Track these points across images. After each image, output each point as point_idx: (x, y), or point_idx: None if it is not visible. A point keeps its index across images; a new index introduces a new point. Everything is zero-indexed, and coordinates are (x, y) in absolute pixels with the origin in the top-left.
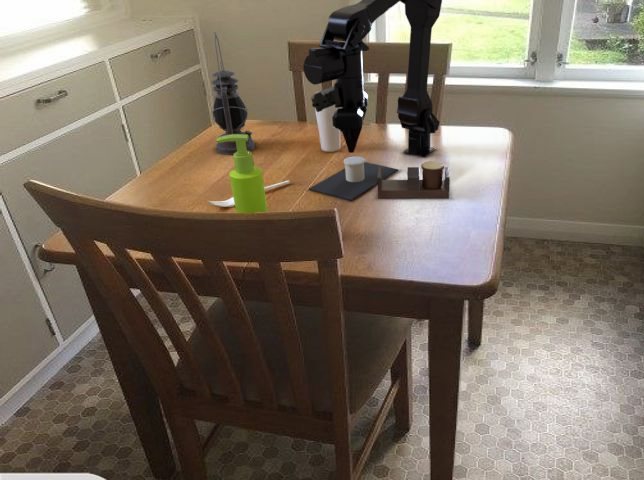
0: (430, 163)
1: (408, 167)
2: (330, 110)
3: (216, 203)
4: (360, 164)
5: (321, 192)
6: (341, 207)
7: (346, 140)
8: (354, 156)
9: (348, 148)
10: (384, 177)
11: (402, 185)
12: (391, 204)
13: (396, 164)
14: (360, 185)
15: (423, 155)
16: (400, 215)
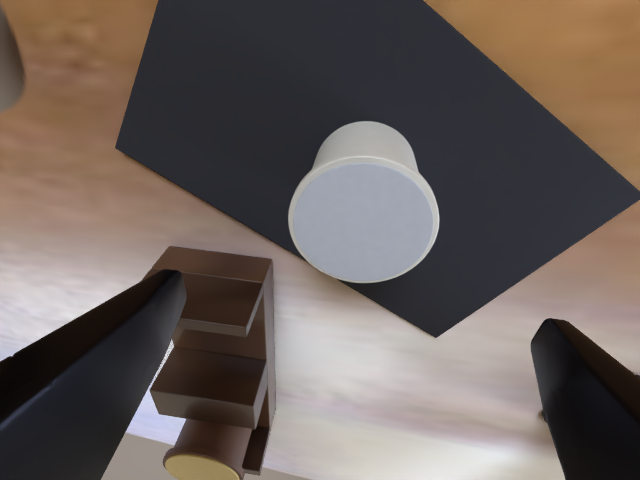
0: (214, 473)
1: (250, 408)
2: None
3: None
4: (303, 253)
5: None
6: (47, 98)
7: (25, 361)
8: (431, 233)
9: (130, 294)
10: (359, 287)
11: (213, 341)
12: (136, 279)
13: (512, 335)
14: (275, 192)
15: (545, 417)
16: (69, 292)
